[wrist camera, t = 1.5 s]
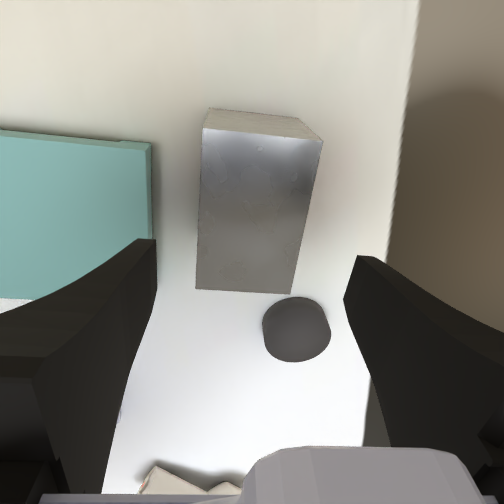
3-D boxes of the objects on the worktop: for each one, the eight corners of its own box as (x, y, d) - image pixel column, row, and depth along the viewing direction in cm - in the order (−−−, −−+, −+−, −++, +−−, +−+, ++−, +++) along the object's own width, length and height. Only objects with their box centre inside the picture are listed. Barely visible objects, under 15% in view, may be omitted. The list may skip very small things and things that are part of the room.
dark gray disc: (317, 344, 29) (322, 363, 27) (258, 342, 28) (260, 361, 26) (330, 297, 26) (338, 314, 25) (266, 293, 26) (269, 310, 24)
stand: (157, 283, 24) (150, 305, 22) (7, 274, 23) (-16, 297, 21) (154, 140, 19) (145, 150, 17) (-37, 119, 18) (-72, 128, 16)
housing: (274, 253, 24) (286, 309, 19) (201, 248, 23) (194, 304, 18) (297, 118, 20) (322, 141, 14) (209, 107, 19) (202, 127, 14)
